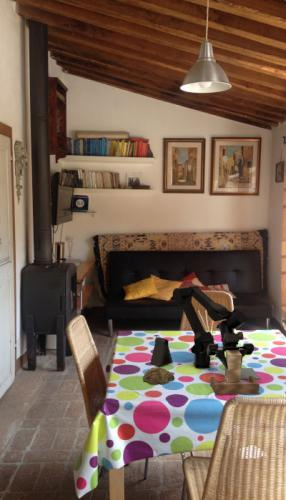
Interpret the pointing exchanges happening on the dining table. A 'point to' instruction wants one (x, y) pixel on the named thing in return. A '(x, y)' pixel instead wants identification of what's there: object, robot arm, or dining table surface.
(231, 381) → the maple block
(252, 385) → the nook
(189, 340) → the dining table surface
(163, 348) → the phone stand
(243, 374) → the mat
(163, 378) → the bread roll
